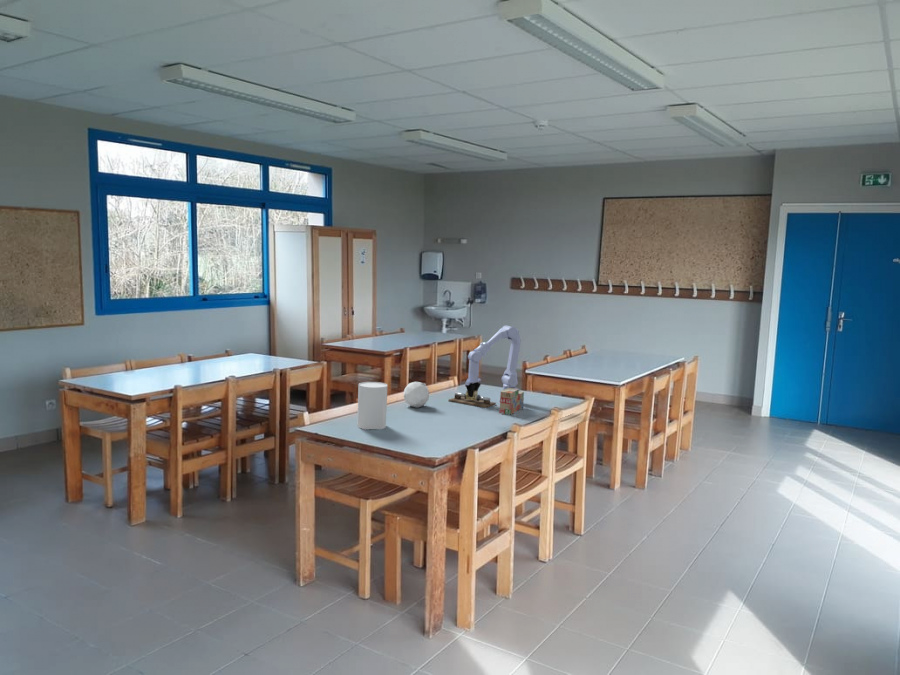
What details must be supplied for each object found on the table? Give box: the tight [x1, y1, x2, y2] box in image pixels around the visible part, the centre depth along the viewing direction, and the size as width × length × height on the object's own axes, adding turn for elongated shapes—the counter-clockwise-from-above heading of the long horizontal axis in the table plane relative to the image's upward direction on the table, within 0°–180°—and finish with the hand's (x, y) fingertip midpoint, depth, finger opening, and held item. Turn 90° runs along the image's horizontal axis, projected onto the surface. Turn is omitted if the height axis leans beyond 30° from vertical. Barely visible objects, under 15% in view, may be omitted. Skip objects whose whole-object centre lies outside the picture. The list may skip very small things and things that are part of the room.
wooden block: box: [465, 390, 479, 401], centre depth 378 cm, size 5×4×5 cm
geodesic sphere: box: [403, 381, 430, 408], centre depth 361 cm, size 15×14×14 cm
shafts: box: [454, 391, 491, 402], centre depth 378 cm, size 22×4×4 cm, turn 59°
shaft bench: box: [448, 394, 496, 409], centre depth 378 cm, size 24×12×3 cm, turn 59°
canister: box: [356, 381, 388, 430], centre depth 315 cm, size 14×14×20 cm
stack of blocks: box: [498, 388, 525, 415], centre depth 364 cm, size 21×6×12 cm, turn 155°
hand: (472, 396), depth 378 cm, fingers closed on wooden block, 4 cm apart
